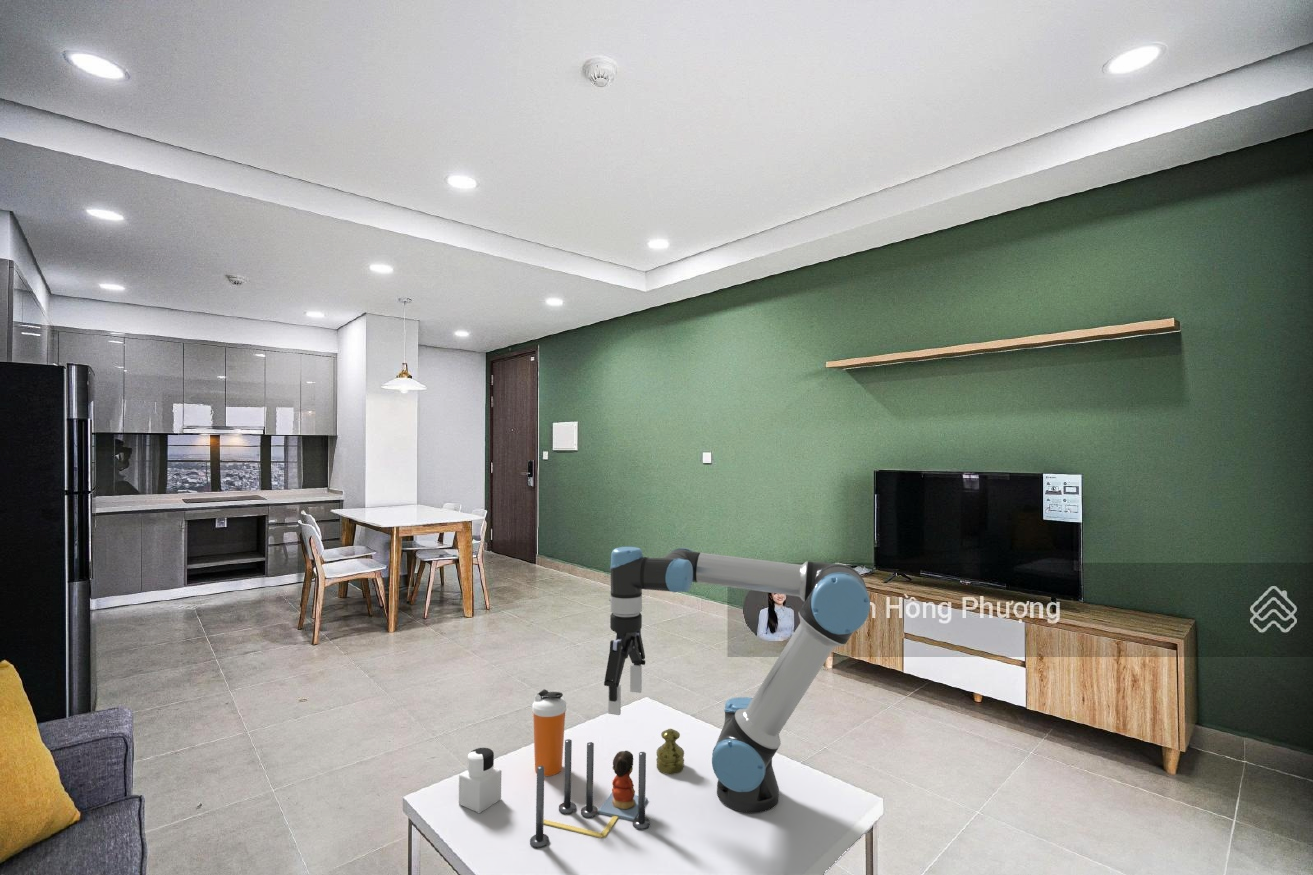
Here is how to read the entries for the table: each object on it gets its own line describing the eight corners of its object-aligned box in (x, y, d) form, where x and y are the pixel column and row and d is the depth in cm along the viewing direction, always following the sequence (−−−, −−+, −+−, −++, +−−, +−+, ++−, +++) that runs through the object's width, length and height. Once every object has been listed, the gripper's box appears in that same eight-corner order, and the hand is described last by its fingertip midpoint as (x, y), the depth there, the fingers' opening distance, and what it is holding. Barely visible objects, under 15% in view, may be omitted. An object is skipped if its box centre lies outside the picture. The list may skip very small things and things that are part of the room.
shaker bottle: (558, 780, 159) (559, 701, 159) (525, 775, 161) (527, 698, 161) (570, 762, 167) (571, 688, 168) (539, 759, 169) (540, 685, 170)
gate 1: (578, 806, 147) (579, 738, 148) (543, 850, 131) (544, 773, 131) (563, 802, 149) (564, 735, 149) (526, 845, 133) (527, 770, 133)
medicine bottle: (480, 790, 154) (481, 741, 154) (501, 799, 150) (502, 749, 150) (458, 804, 147) (458, 753, 148) (479, 814, 144) (480, 762, 144)
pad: (647, 800, 150) (647, 797, 150) (634, 821, 142) (634, 818, 142) (613, 793, 153) (613, 790, 153) (598, 813, 145) (598, 810, 145)
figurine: (638, 809, 145) (639, 758, 145) (615, 813, 144) (615, 761, 144) (631, 794, 151) (632, 745, 151) (609, 798, 150) (610, 748, 150)
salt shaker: (677, 777, 161) (677, 738, 161) (651, 770, 164) (652, 732, 164) (688, 764, 167) (688, 727, 167) (663, 758, 171) (663, 721, 171)
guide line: (618, 817, 143) (618, 816, 143) (604, 838, 135) (604, 837, 135) (558, 804, 148) (558, 802, 148) (540, 823, 140) (540, 822, 140)
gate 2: (652, 821, 142) (653, 751, 142) (646, 831, 138) (647, 759, 138) (585, 806, 147) (586, 738, 148) (577, 815, 143) (578, 746, 144)
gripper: (630, 599, 161) (630, 681, 161) (589, 625, 137) (588, 721, 137) (657, 602, 159) (657, 685, 158) (620, 628, 135) (620, 726, 135)
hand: (625, 702), depth 148 cm, fingers open, 13 cm apart
